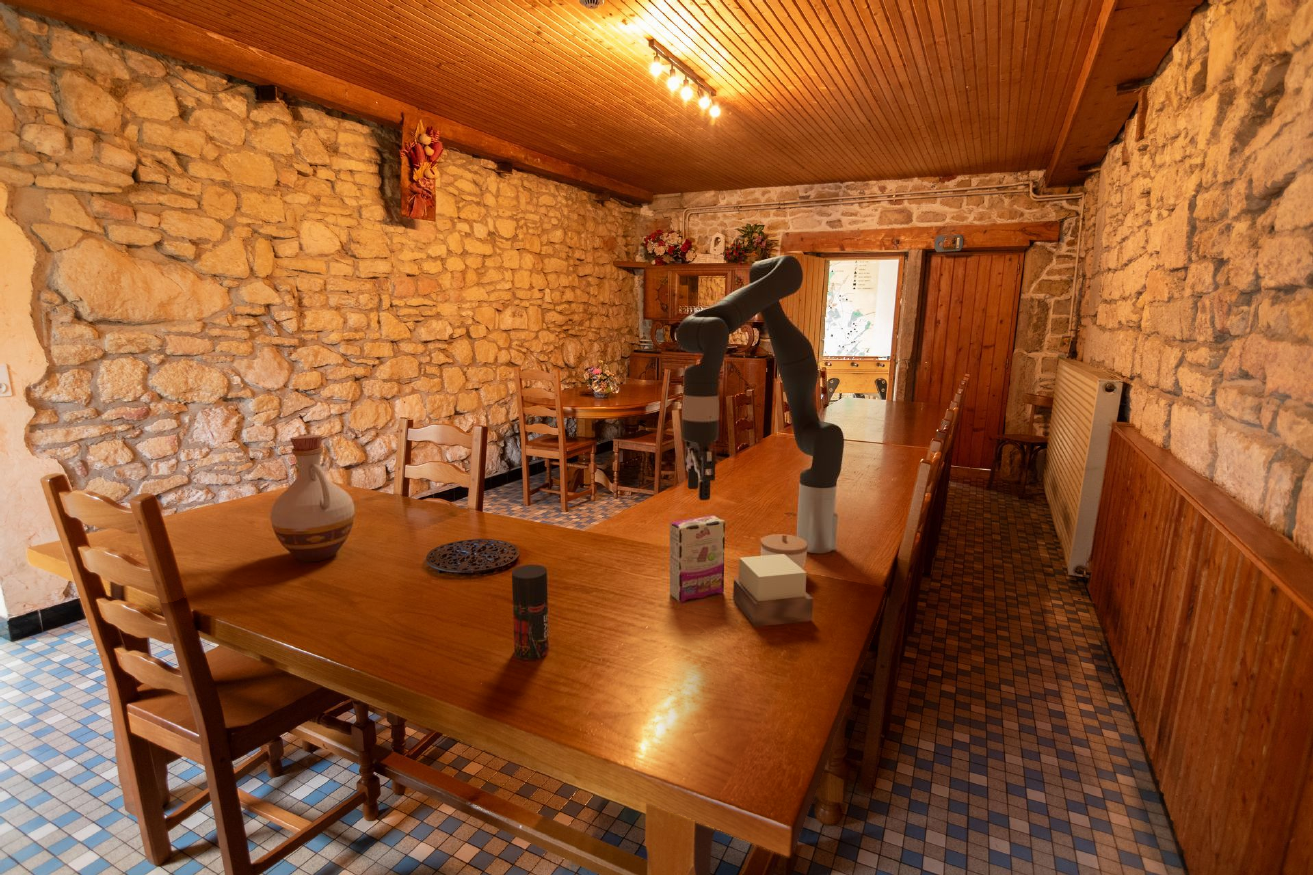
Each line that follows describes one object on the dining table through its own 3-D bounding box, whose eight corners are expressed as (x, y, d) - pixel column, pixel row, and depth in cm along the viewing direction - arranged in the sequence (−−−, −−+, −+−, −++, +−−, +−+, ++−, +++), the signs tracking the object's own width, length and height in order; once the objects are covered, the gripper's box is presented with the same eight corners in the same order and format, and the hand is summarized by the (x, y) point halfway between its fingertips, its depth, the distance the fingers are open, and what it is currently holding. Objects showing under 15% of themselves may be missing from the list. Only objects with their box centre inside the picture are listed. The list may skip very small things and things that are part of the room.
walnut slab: (785, 596, 132) (786, 574, 131) (811, 622, 121) (813, 598, 120) (733, 601, 130) (733, 578, 129) (754, 628, 118) (755, 604, 117)
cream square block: (782, 576, 130) (783, 553, 129) (805, 596, 121) (806, 572, 120) (738, 580, 128) (739, 557, 127) (757, 601, 118) (759, 576, 117)
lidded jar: (754, 578, 141) (756, 539, 139) (764, 561, 150) (766, 525, 149) (802, 585, 137) (804, 545, 135) (809, 568, 147) (811, 530, 145)
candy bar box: (711, 584, 137) (714, 514, 134) (724, 593, 132) (726, 520, 129) (667, 594, 132) (668, 521, 129) (679, 603, 127) (680, 528, 124)
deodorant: (516, 643, 111) (514, 564, 108) (550, 642, 111) (548, 564, 109) (512, 661, 105) (509, 578, 102) (547, 659, 105) (545, 577, 103)
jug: (372, 557, 150) (363, 436, 145) (291, 578, 137) (278, 447, 132) (341, 537, 163) (332, 426, 158) (265, 555, 150) (251, 435, 145)
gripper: (729, 422, 119) (726, 502, 122) (707, 411, 133) (705, 484, 136) (692, 422, 117) (689, 504, 120) (674, 412, 131) (672, 486, 134)
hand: (698, 493), depth 128 cm, fingers open, 8 cm apart
